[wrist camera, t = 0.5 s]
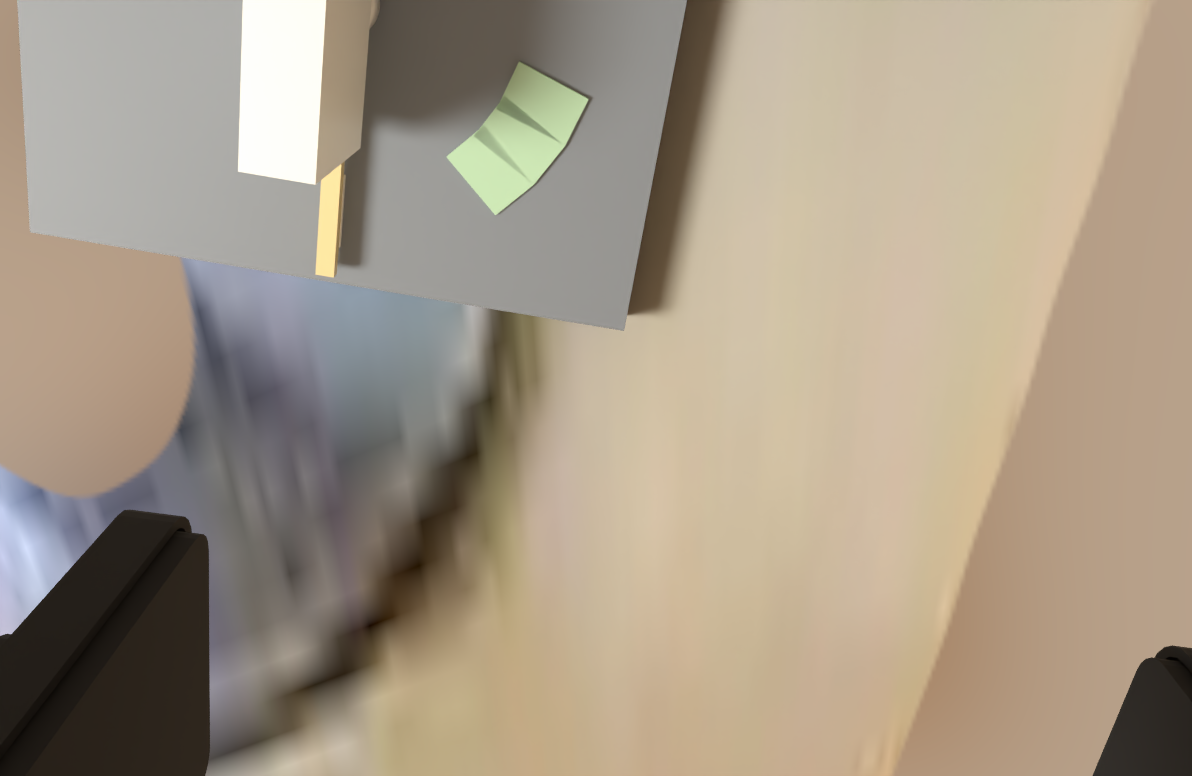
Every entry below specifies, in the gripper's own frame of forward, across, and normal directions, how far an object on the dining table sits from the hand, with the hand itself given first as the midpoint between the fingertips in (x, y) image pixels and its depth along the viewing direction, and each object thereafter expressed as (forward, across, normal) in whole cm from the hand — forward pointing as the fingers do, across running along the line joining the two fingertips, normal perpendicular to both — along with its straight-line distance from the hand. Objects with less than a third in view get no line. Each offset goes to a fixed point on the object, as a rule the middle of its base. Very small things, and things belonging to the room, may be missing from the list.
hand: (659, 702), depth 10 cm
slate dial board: (+26, +9, -4) cm, 28 cm away
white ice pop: (+24, +9, -2) cm, 26 cm away
